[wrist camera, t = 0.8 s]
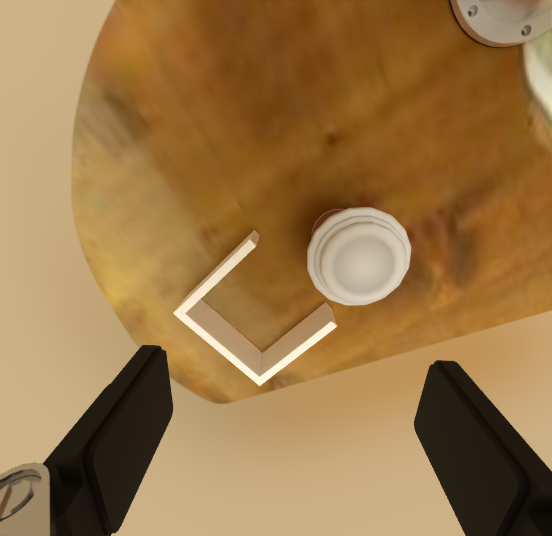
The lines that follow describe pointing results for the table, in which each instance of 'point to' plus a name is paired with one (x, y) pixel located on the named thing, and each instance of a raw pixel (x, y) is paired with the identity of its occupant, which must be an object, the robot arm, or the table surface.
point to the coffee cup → (357, 255)
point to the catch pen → (234, 342)
